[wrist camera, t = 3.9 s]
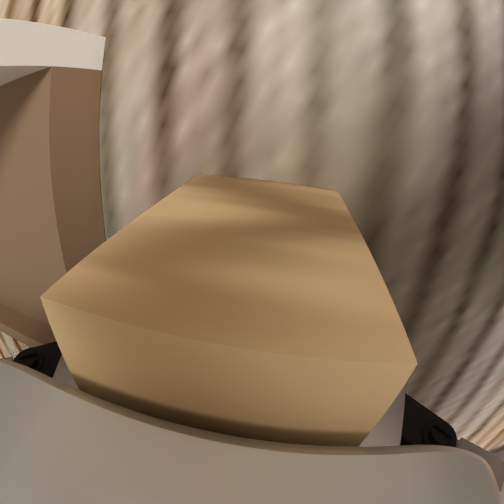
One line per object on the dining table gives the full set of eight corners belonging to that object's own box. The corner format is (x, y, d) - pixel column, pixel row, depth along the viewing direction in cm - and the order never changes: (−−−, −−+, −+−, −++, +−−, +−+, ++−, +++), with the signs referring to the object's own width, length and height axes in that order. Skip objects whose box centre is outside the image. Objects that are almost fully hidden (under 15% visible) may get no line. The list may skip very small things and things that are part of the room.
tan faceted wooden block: (338, 191, 10) (442, 447, 2) (299, 358, 14) (285, 544, 6) (200, 173, 10) (-12, 347, 2) (199, 342, 14) (132, 512, 6)
